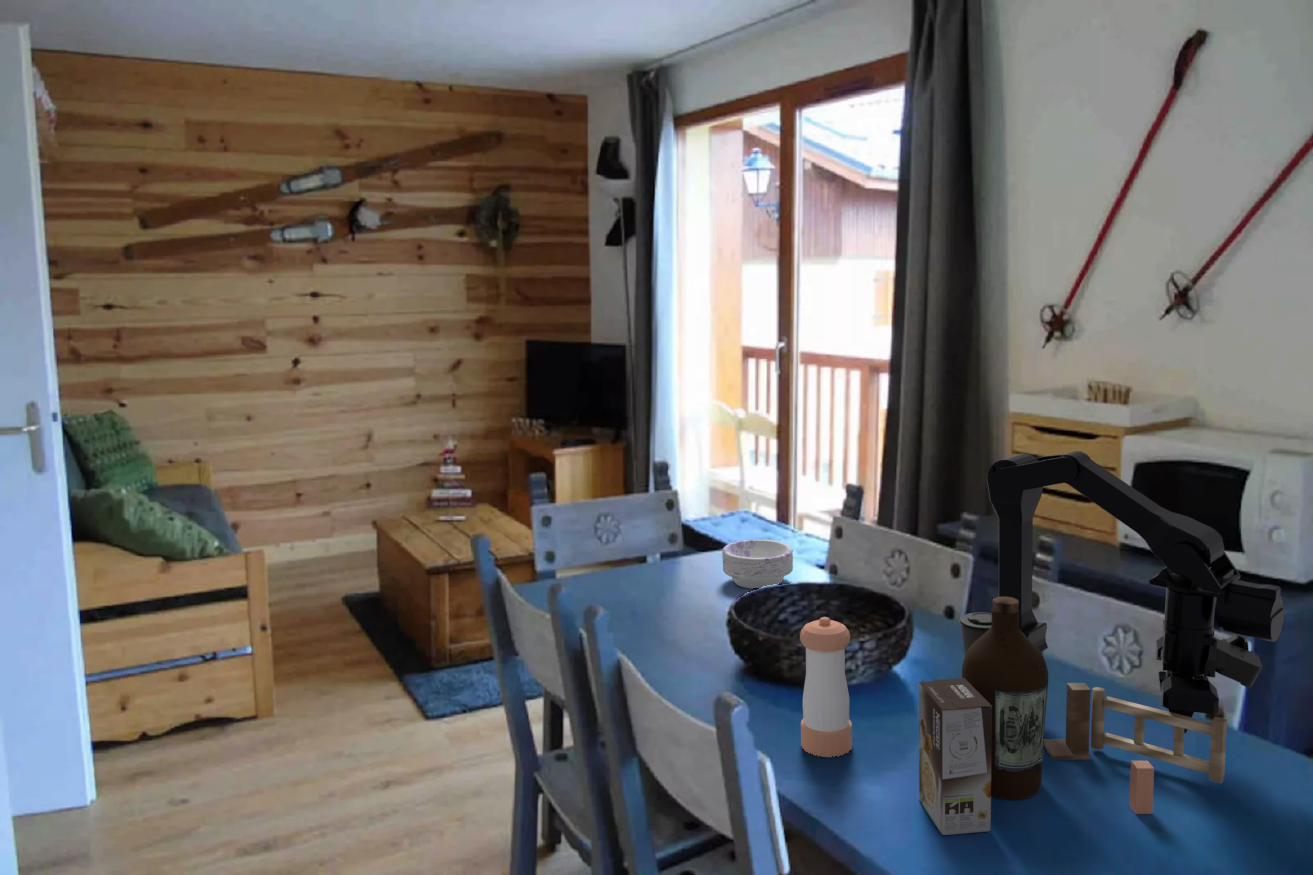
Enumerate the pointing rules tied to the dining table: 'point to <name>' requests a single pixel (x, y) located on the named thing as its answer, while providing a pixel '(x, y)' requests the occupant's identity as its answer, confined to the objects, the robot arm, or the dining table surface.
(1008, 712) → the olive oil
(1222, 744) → the gate
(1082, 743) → the hinge post
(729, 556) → the white patterned bowl
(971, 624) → the coffee cup
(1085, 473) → the robot arm
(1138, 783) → the post
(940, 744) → the coffee box
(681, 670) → the dining table surface
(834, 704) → the salt shaker
